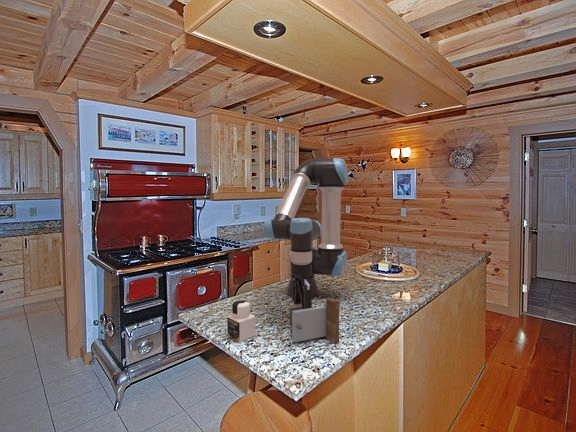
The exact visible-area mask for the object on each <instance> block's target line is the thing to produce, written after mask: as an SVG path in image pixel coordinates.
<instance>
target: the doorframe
mask: <svg viewBox="0 0 576 432" xmlns="http://www.w3.org/2000/svg"><path fill="white" fill-rule="evenodd" d="M300 304H301V303H300ZM326 304H327V312H326V337H325V338H326V339H325V340H326V341H328V342H330V343H332V344H336V343H339V342H340V300H338V299H336V298H334V297H330V298H326ZM294 305H295V304H294V303H293V306H294Z"/></svg>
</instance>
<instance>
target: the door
mask: <svg viewBox="0 0 576 432" xmlns="http://www.w3.org/2000/svg"><path fill="white" fill-rule="evenodd" d="M326 312H327V303H324V304H323V305H321V306H315V307H312V308H308V309H302V310H295V311H292V327H291V330H292V331H291V332H292V335H291V337H292V338H291V339H292V342H293V343H298V342H304V341H308V340H314V339H318V338H323V337H325V338H326Z"/></svg>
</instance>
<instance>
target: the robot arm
mask: <svg viewBox="0 0 576 432" xmlns="http://www.w3.org/2000/svg"><path fill="white" fill-rule="evenodd" d="M291 174H292V175H291V176H290V181H289V182H290V184H289V186H288V187H287V189H286V192H285V194H284V196H283V199H282V200H281V203H280V204H279V207H278V209H277V212H276V213H275V216H274V217H273V219H272V218H271V219H267V220H265V221H264V224H263V226H262V227H263V229H262V230H263V234H264V236H265V238H267V239H271V240H289V241H290V253H289V259H290V265H289V266H290V279H289V282H288V286H287V288H286V294H287V296H289V297H291V300H292V302H293V308H298V307H302V309H308V308H313V303H312V302H313V301H312V300H313V299H312V298H315V297H317V296H318V295H319V288H318V284H317V281H316V278H315V275H321V276H322V275H323V276H330V277H340V276H342V275H343V274H344V272H345V269H346V265H347V260H348V254H347V253H348V252H347V251H346V250H344V246H343V245H342V244H341V211H342V210H341V202H342V191H343V190H344V189H345V185H347V184H349V170H348V166H347V163H346V161H345V159H343V158H339V157H336V158H335V157H333V158H332V157H331V158H313V159H308V160H307V161H304V162H302V163H301V164H300V165H299V166H298V167H297V168H296V169H295V170H294V172H293V173H291ZM311 185H318V189H319V190H320V191H321V223H320V222H319V220H316V219H311V218H309V217H297V218H295V217H296V214H297V212H298V209H299V207H300V205H301V203H302V200H303V197H305V193H306V190H308V189H309V188H310V186H311ZM320 236H321V243H320V244H318V247H317V249H316V247H315V245H313V241H315V240H317V239H319V238H320ZM300 303H301V304H300ZM294 304H295V305H294Z"/></svg>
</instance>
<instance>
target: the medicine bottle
mask: <svg viewBox="0 0 576 432" xmlns="http://www.w3.org/2000/svg"><path fill="white" fill-rule="evenodd" d="M231 306H232V307H231V309H232V314H230V315H227V318H226V321H227V325H226V328H227V336H228V337H229V338H231V339H233V340H235V341H236V342H238V343H242V342H243V341H246V340H249V339H250V338H253V337H255V336H256V335H257V331H256V330H257V329H256V327H257V324H256V322H257V321H256V320H257V319H256V316H255V315H254V314H252V313H251V303H250V302H249V301H247V300H244V299H243V300H241V299H240V300H237V301H234V302H233V303H232V305H231Z"/></svg>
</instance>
